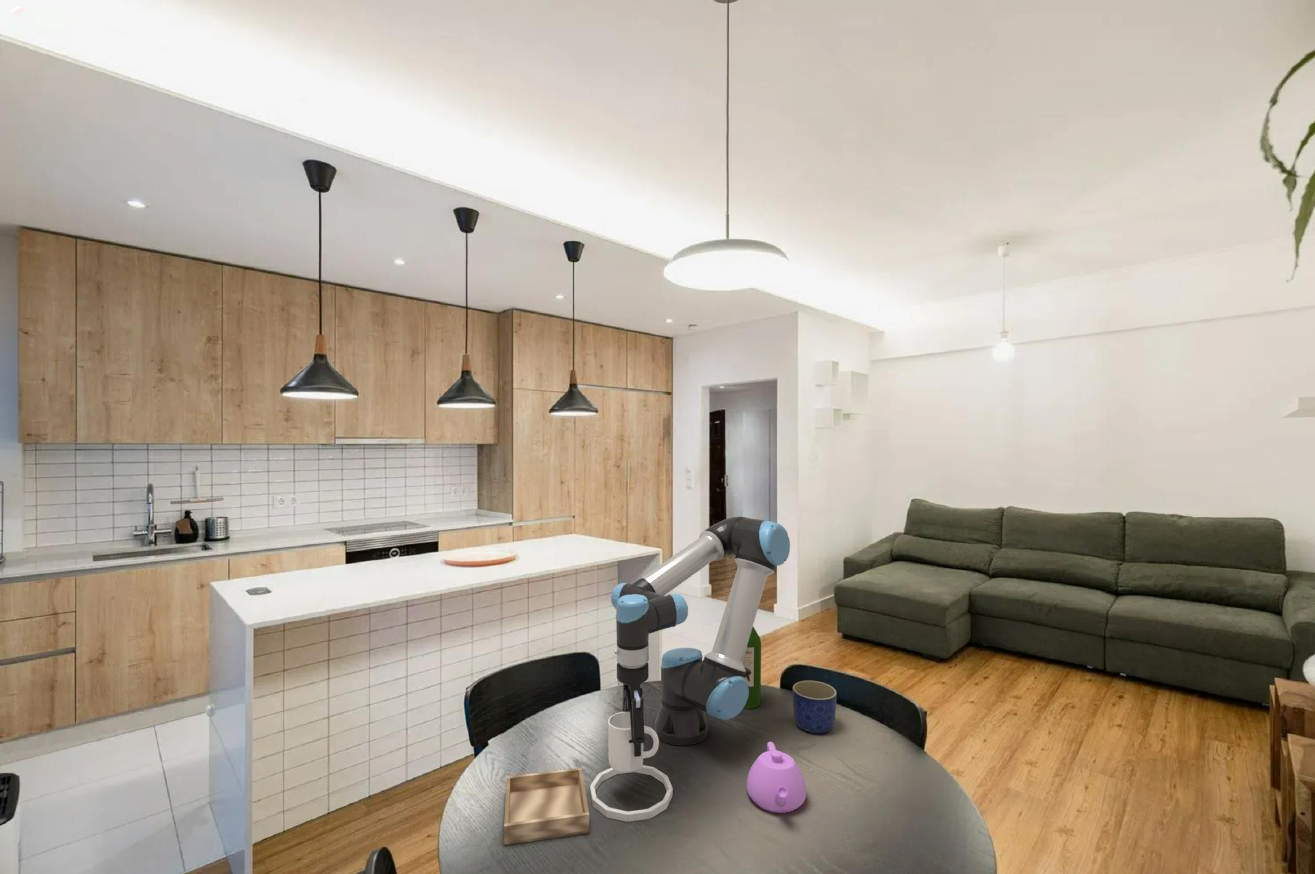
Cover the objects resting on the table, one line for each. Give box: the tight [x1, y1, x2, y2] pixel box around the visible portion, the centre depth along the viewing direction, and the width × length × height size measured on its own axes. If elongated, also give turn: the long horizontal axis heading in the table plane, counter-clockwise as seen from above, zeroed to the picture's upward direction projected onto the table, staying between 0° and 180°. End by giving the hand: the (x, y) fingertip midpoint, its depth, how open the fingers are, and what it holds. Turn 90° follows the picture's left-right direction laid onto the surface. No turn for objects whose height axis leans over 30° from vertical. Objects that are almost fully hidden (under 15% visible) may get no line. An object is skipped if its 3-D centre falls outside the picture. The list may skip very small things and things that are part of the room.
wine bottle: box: [742, 626, 762, 710], centre depth 184 cm, size 9×9×32 cm
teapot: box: [746, 741, 807, 814], centre depth 136 cm, size 14×20×11 cm
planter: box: [792, 680, 838, 734], centre depth 170 cm, size 12×12×11 cm
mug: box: [607, 711, 660, 773], centre depth 137 cm, size 12×8×10 cm
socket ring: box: [589, 764, 674, 823], centre depth 138 cm, size 19×19×2 cm
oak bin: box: [503, 767, 590, 846], centre depth 131 cm, size 18×18×4 cm
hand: (633, 756), depth 138 cm, fingers closed on mug, 8 cm apart
